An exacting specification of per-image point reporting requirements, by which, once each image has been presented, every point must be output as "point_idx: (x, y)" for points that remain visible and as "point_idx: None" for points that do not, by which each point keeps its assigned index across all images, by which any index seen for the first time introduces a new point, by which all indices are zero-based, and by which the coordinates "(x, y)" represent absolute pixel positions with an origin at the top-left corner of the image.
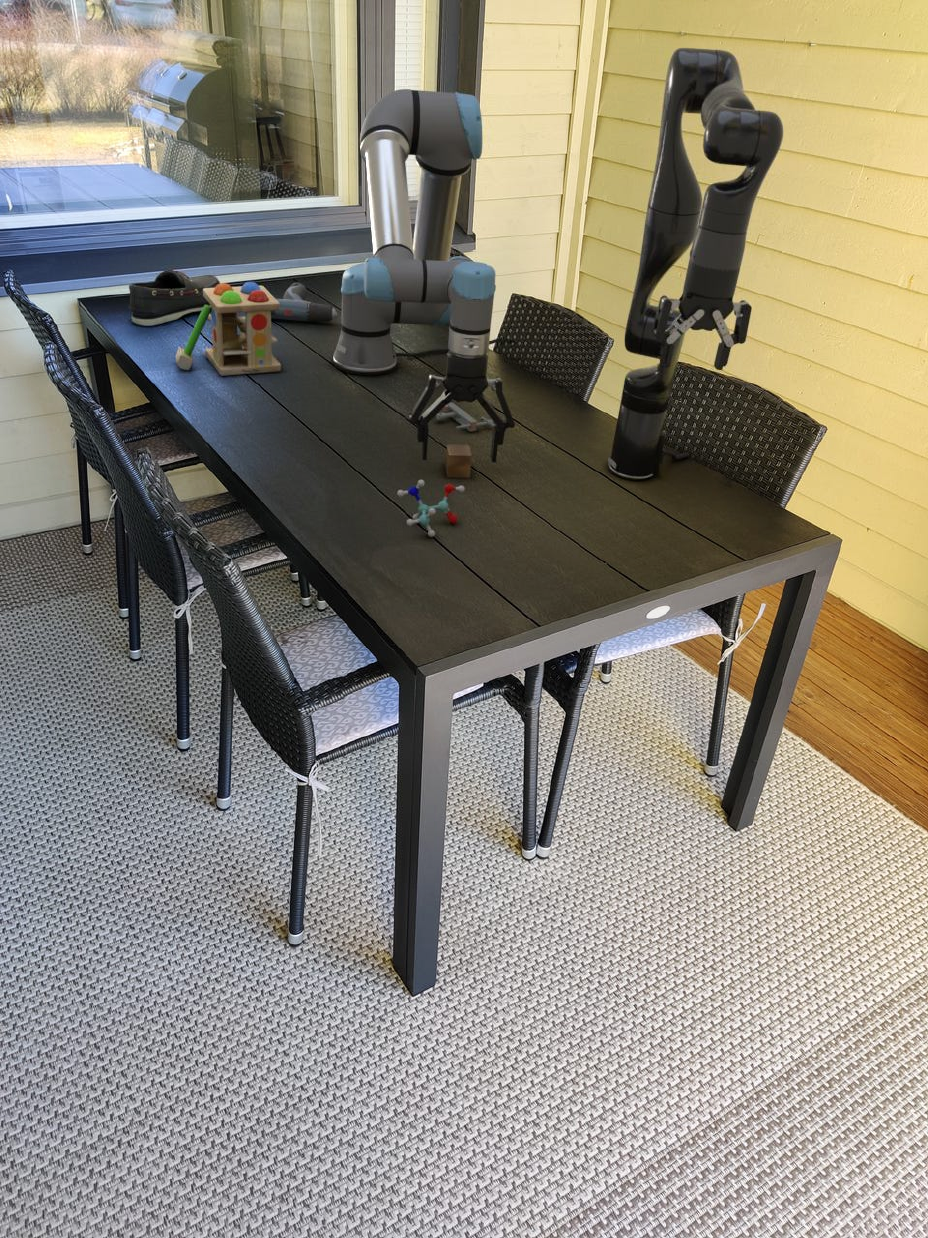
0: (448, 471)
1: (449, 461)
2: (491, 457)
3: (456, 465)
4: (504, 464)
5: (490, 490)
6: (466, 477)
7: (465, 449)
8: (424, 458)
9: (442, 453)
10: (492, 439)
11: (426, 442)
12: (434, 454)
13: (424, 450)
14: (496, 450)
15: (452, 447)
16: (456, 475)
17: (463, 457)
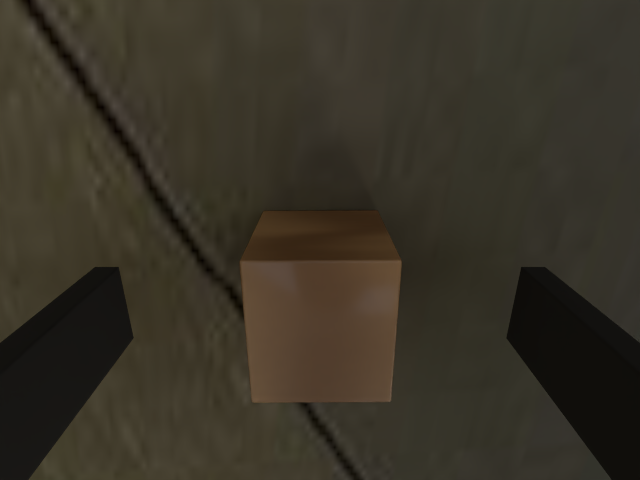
0: (379, 219)
1: (388, 240)
2: (120, 309)
3: (339, 233)
4: None
5: (151, 65)
6: (279, 211)
7: (278, 346)
8: (540, 270)
9: (367, 424)
10: (65, 416)
11: (608, 335)
12: (403, 414)
13: (576, 298)
14: (48, 308)
15: (362, 365)
16: (332, 213)
17: (299, 255)
